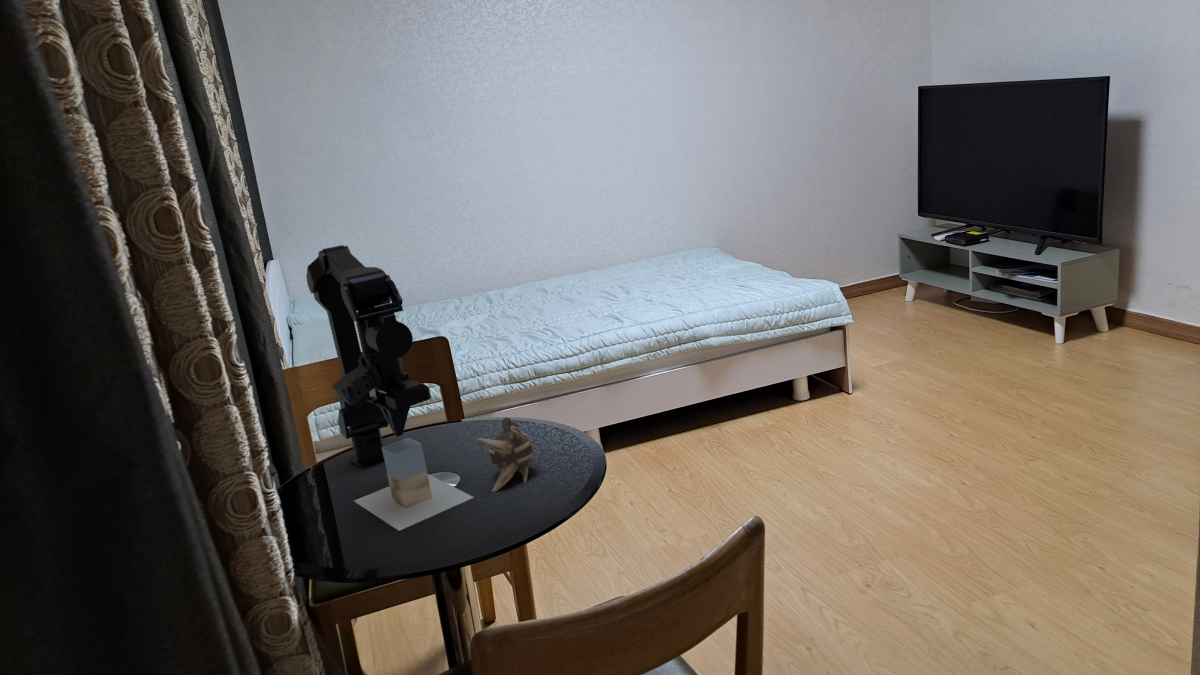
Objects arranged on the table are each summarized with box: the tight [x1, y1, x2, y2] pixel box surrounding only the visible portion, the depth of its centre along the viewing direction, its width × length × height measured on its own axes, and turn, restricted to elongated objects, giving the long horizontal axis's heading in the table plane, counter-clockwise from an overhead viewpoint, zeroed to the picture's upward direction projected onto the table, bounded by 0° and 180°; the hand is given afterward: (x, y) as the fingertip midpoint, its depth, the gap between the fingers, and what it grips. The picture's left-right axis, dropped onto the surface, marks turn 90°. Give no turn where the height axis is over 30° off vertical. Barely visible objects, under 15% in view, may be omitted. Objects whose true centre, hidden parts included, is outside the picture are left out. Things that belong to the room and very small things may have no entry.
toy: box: [476, 417, 534, 493], centre depth 149 cm, size 11×8×15 cm
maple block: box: [386, 470, 432, 508], centre depth 144 cm, size 5×5×5 cm
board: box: [353, 473, 474, 532], centre depth 145 cm, size 18×14×1 cm
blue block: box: [382, 437, 428, 481], centre depth 143 cm, size 5×5×5 cm
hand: (398, 435), depth 142 cm, fingers closed
